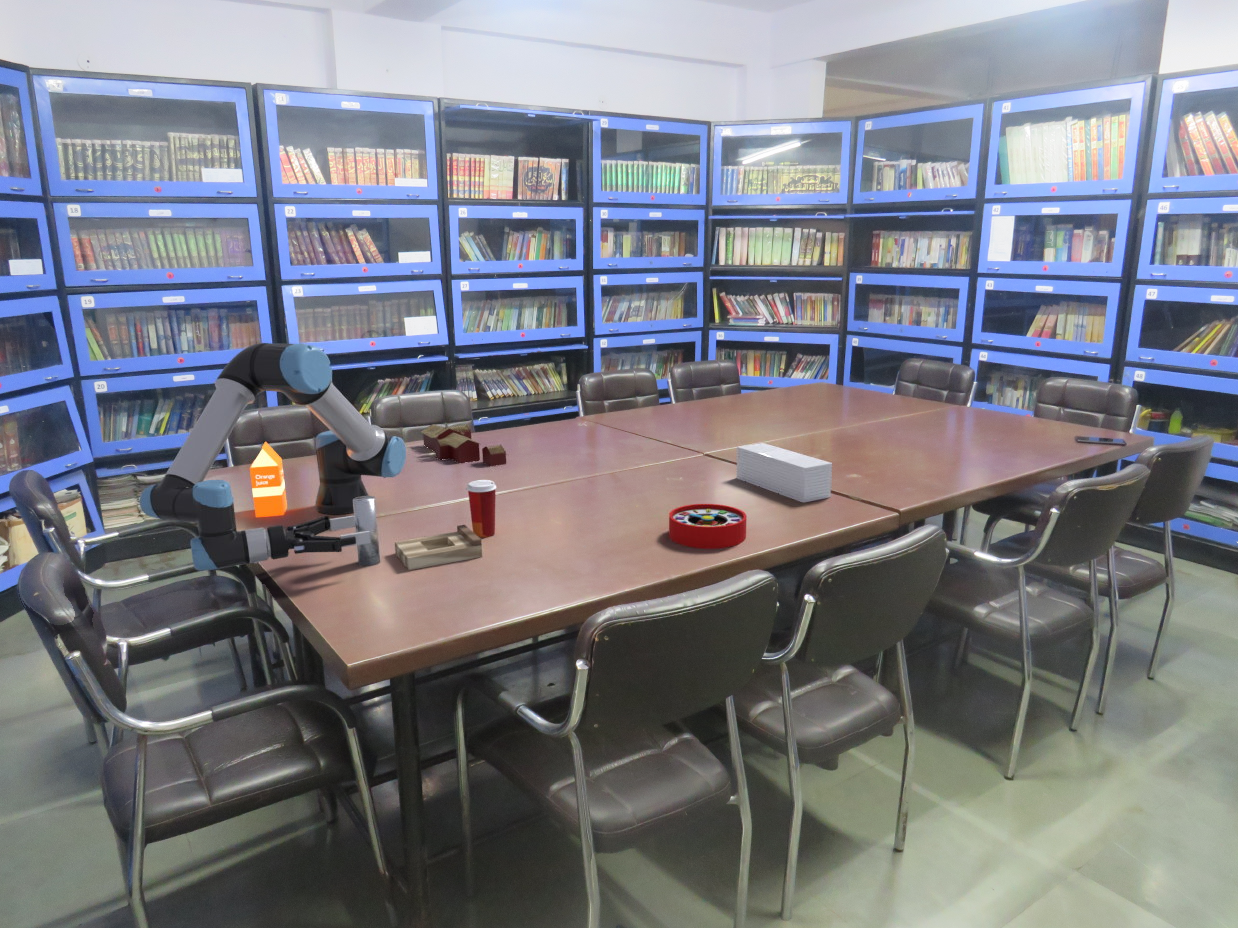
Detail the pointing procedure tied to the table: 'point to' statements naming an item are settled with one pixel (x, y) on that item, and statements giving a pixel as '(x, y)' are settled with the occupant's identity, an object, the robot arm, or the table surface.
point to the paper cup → (482, 507)
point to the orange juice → (268, 483)
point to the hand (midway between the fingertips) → (363, 528)
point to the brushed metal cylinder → (367, 529)
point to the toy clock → (707, 526)
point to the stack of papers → (784, 472)
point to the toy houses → (460, 445)
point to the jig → (439, 548)
